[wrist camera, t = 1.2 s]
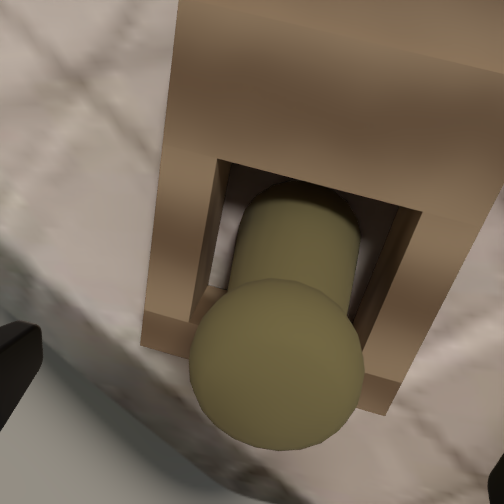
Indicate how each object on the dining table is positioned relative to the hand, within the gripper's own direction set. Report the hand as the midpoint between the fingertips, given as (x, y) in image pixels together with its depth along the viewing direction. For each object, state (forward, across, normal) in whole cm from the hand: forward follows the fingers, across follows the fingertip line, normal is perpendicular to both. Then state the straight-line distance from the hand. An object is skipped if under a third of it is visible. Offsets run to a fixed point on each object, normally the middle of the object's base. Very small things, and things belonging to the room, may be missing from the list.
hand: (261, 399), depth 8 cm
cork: (+14, 0, +3) cm, 14 cm away
